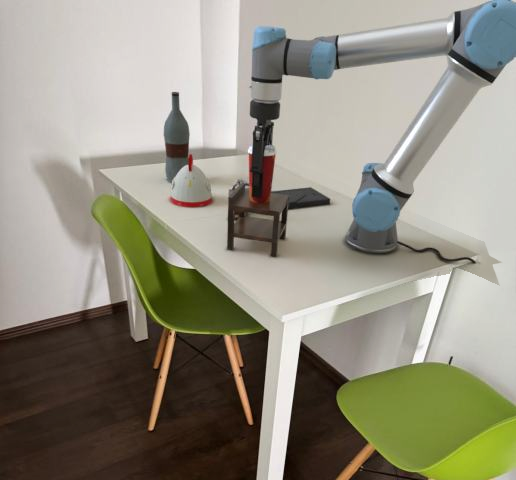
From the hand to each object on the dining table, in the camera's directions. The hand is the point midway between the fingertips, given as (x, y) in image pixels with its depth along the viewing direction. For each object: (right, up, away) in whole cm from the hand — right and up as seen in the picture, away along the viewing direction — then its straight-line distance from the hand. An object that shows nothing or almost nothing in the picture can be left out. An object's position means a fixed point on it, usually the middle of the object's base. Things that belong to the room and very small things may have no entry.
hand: (259, 192), depth 138 cm
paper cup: (0, -2, +1) cm, 2 cm away
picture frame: (+14, +10, +42) cm, 45 cm away
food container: (-6, 0, +26) cm, 27 cm away
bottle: (-31, +21, +53) cm, 65 cm away
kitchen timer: (-23, +8, +36) cm, 44 cm away
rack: (-1, -12, +9) cm, 15 cm away
